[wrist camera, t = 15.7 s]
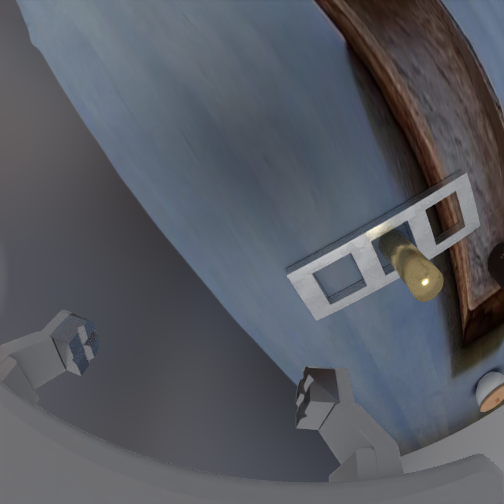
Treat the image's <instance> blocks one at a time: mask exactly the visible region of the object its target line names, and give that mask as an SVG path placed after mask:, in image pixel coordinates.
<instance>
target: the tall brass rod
mask: <svg viewBox="0 0 504 504" xmlns="http://www.w3.org/2000/svg"><path fill="white" fill-rule="evenodd" d="M379 248H380V250H381V252H382V253H383V255H384V256H385V257H386V259H387V260H388V261H389V262H390V264H391V265H392V266H393V268H394V269H395V271H396V272H397V273H398V275H399V276H400V277H401V279H402V280H403V281H404V283H405V284H406V286H407V287H408V288H409V290H410V291H411V293H412V294H413V296H414V297H415V298H416V299H417V300H418V301H421V302H425V301H429V300H431V299H433V298H434V297H435V296H436V295H437V294H438V293H439V292H440V290H441V288H442V286H443V275H442V273H441V272H440V271H439V270H438V269H437V268H436V267H435V266H434V265H433V264H432V263H431V262H430V261H429V260H428V259H427V258H426V257H425V256H424V255H423V254H422V253H421V252H420V251H419V250H418V249H417V248H416V247H415V246H414V245H413V244H412V243H411V242H410V241H409V240H408V239H407V238H406V237H405V236H404V235H403V234H402V233H400V232H399V231H397V230H390V231H388V232H387V233H385V234H383V235H382V237H381V239H380V242H379Z"/></svg>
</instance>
